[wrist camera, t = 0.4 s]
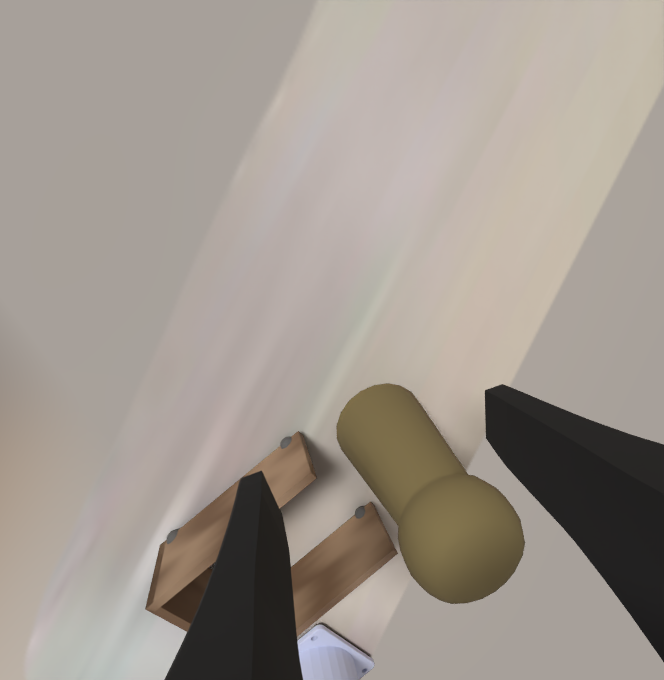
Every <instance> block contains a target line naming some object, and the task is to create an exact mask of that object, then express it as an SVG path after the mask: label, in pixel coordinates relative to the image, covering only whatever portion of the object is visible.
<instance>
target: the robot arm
mask: <svg viewBox="0 0 664 680" xmlns="http://www.w3.org/2000/svg"><path fill="white" fill-rule="evenodd" d="M485 415H486V439H487V440H488V442H489V443H490V444H491V446H492V447H493V449H494V450H495V452H496V453H497V454H498V456H499V457H500V458H501V460H502V461H503V462H504V464H505V465H506V466H507V468H508V469H509V470H510V471H511V472H512V473H513V474H514V475H515V476H516V477H517V479H518V480H519V481H520V482H521V483H522V484H523V485H524V486H525V487H526V488H527V490H528V491H529V492H530V493H531V494H532V495H533V496H534V497H535V498H536V499H537V500H538V501H539V502H540V504H541V505H542V506H543V507H544V508H545V509H546V510H547V511H548V512H549V513H550V514H551V515H552V516H553V517H554V519H555V520H556V521H557V522H558V523H559V524H560V525H561V526H562V527H563V528H564V530H565V531H566V532H567V533H568V534H569V535H570V536H571V538H572V539H573V540H574V541H575V542H576V544H577V545H578V546H579V547H580V549H581V550H582V551H583V553H584V554H585V555H586V556H587V558H588V559H589V560H590V562H591V563H592V564H593V565H594V566H595V568H596V569H597V571H598V572H599V573H600V574H601V576H602V577H603V578H604V579H605V581H606V582H607V584H608V585H609V586H610V588H611V589H612V590H613V592H614V593H615V595H616V596H617V597H618V598H619V600H620V601H621V603H622V604H623V605H624V607H625V608H626V609H627V611H628V612H629V613H630V615H631V616H632V618H633V619H634V620H635V622H636V623H637V625H638V626H639V628H640V629H641V630H642V632H643V633H644V635H645V636H646V637H647V639H648V640H649V642H650V643H651V645H652V646H653V647H654V649H655V650H656V651H657V653H658V654H659V656H660V657H661V659H662V660H663V662H664V445H663V444H660V443H657V442H653V441H650V440H646V439H643V438H640V437H637V436H634V435H630V434H628V433H625V432H622V431H619V430H616V429H614V428H610V427H608V426H605V425H602V424H599V423H597V422H594V421H591V420H589V419H586V418H583V417H581V416H578V415H576V414H573V413H571V412H568V411H566V410H564V409H561V408H559V407H556V406H554V405H551V404H549V403H546V402H544V401H542V400H539V399H537V398H535V397H532V396H530V395H528V394H525V393H523V392H520V391H518V390H516V389H513V388H511V387H508V386H506V385H503V384H502V385H499V386H496V387H493V388H491V389H488V390H485ZM373 667H374V661H373V659H372V658H371V657H369V656H368V655H366V654H365V653H363V652H362V651H360V650H359V649H357V648H356V647H354V646H353V645H351V644H350V643H349V642H347V641H346V640H344V639H343V638H341V637H340V636H338V635H337V634H335V633H334V632H332V631H331V630H329V629H328V628H326V627H325V626H324V625H321V624H320V625H316V626H315V627H313V628H312V629H311V630H310V631H309V632H307V633H306V634H305V635H304V636H302V637H301V638H300V639H299V640H298V641H297V632H296V621H295V610H294V599H293V587H292V576H291V565H290V555H289V547H288V542H287V537H286V532H285V527H284V522H283V517H282V513H281V511H280V509H279V507H278V505H277V502H276V500H275V498H274V496H273V494H272V492H271V489H270V487H269V485H268V483H267V481H266V478H265V476H264V474H263V472H262V471H259V472H256V473H253V474H251V475H248V476H245V477H242V478H241V480H240V481H239V484H238V489H237V493H236V497H235V501H234V505H233V508H232V512H231V515H230V519H229V522H228V526H227V529H226V532H225V535H224V538H223V541H222V544H221V547H220V551H219V554H218V557H217V559H216V562H215V565H214V568H213V570H212V573H211V576H210V578H209V581H208V584H207V586H206V589H205V592H204V594H203V597H202V599H201V601H200V604H199V606H198V609H197V611H196V613H195V616H194V618H193V620H192V623H191V625H190V627H189V629H188V632H187V634H186V636H185V638H184V641H183V643H182V645H181V647H180V649H179V651H178V653H177V655H176V657H175V659H174V661H173V663H172V665H171V668H170V670H169V672H168V674H167V676H166V678H165V680H359V679H360V678H362V677H363V676H364V675H365V674H366V673H368V672H369V671H370V670H371V669H372V668H373Z"/></svg>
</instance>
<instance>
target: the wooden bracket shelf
mask: <svg viewBox="0 0 664 680" xmlns="http://www.w3.org/2000/svg"><path fill="white" fill-rule="evenodd" d="M259 471H262V472H263V474H264V476H265V478H266V481H267V483H268V485H269V487H270V489H271V492H272V494H273V496H274V498H275V500H276V502H277V505H278V507H279V509H280V508H281V507H282V506H284V505H285V504H286V503H287V502H288V501H290V500H291V499H292V498H293V497H294V496H296V495H297V494H298V493H299V492H300V491H302V490H303V489H304V488H305V487H307V486H308V485H309V484H310V483H311V482H313V481H314V480H315V479H316V478H317V477H316V474H315V471H314V468H313V464H312V461H311V458H310V455H309V452H308V449H307V446H306V443H305V439H304V436H303V435H302V434H301V433H300V432H299V431H298V432H297V433H295V434H294V435H293V436H292V437H286V438H284V439H283V440H282V441H281V445H280V447H278V448H277V449H276V450H275V451H273V452H272V453H271V454H270V455H269V456H267V457H266V458H265V459H264V460H263V461H261V462H260V463H259V464H258V465H257V466H255V467H254V468H253V469H252V470H250V471H249V472H248V473H247V474H246V475H244V476H243V477H245V476H248V475H251V474H253V473H256V472H259ZM240 480H241V479H240ZM240 480H238V481H237V482H236V483H235V484H234V485H232V486H231V487H230V488H229V489H227V490H226V491H225V492H224V493H223V494H221V495H220V496H219V497H218V498H217V499H215V500H214V501H213V502H212V503H211V504H209V505H208V506H207V507H206V508H204V509H203V510H202V511H201V512H200V513H198V514H197V515H196V516H195V517H194V518H192V519H191V520H190V521H189V522H188V523H186V524H185V525H184V526H183V527H181V528H180V529H179V530H173V531H171V532H170V533H169V534H168V536H167V540H166V541H165V542H163V543H162V544H161V545H160V548H159V552H158V557H157V561H156V565H155V570H154V574H153V578H152V582H151V587H150V591H149V595H148V600H147V604H146V608H145V609H146V610H148V611H150V612H151V613H153V614H155V615H157V616H159V617H161V618H163V619H164V620H166V621H168V622H170V623H172V624H174V625H176V626H178V627H179V628H181V629H183V630H185V631H187V632H188V629H189V627H190V625H191V623H192V620H193V618H194V616H195V613H196V611H197V609H198V606H199V604H200V601H201V599H202V597H203V594H204V592H205V589H206V586H207V584H208V581H209V578H210V576H211V573H212V569H210V568H209V567H210V566H211V565H212V564H213V563H214V562H216V559H217V557H218V554H219V551H220V547H221V544H222V541H223V538H224V535H225V532H226V529H227V526H228V522H229V519H230V515H231V512H232V508H233V505H234V501H235V497H236V493H237V489H238V484H239V481H240ZM397 554H398V553H397V551H396V549H395V547H394V545H393V543H392V541H391V539H390V537H389V535H388V533H387V530H386V528H385V526H384V524H383V522H382V520H381V518H380V516H379V514H378V512H377V510H376V508H375V506H374V505H373V504H372V503H371V502H370V503H369V504H367V505H366V506H365V507H359V508H357V509H356V511H355V515H354V516H353V517H352V518H350V519H349V520H348V521H347V522H345V523H344V524H343V525H342V526H341V527H339V528H338V529H337V530H336V531H335V532H333V533H332V534H331V535H330V536H329V537H327V538H326V539H325V540H324V541H322V542H321V543H320V544H319V545H318V546H316V547H315V548H314V549H313V550H312V551H310V552H309V553H308V554H307V555H305V556H304V557H303V558H302V559H301V560H299V561H298V562H297V563H296V564H295V565H293V566H292V567H291V576H292V587H293V599H294V610H295V621H296V632H297V636H298V635H300V634H301V633H302V632H303V631H304V630H306V629H307V628H308V627H309V626H310V625H312V624H313V623H314V622H315V621H317V620H318V619H319V618H320V617H321V616H323V615H324V614H325V613H326V612H327V611H329V610H330V609H331V608H332V607H333V606H335V605H336V604H337V603H338V602H340V601H341V600H342V599H343V598H344V597H346V596H347V595H348V594H349V593H350V592H352V591H353V590H354V589H355V588H357V587H358V586H359V585H360V584H361V583H363V582H364V581H365V580H366V579H367V578H369V577H370V576H371V575H372V574H373V573H375V572H376V571H377V570H378V569H380V568H381V567H382V566H383V565H384V564H386V563H387V562H388V561H389V560H390V559H392V558H393V557H394V556H395V555H397Z"/></svg>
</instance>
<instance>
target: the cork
mask: <svg viewBox="0 0 664 680" xmlns="http://www.w3.org/2000/svg"><path fill="white" fill-rule="evenodd" d="M337 440H338V442H339V445H340V447H341V450H342V451H343V452H344V454H345V455H346V456H347V458H348V459H349V460H350V462H351V463H352V464H353V466H354V467H355V468H356V470H357V471H358V472H359V474H360V475H361V476H362V478H363V479H364V480H365V482H366V483H367V484H368V486H369V487H370V489H371V490H372V491H373V493H374V494H375V495H376V497H377V498H378V499H379V501H380V502H381V503H382V505H383V506H384V507H385V509H386V510H387V511H388V513H389V514H390V515H391V517H392V518H393V519H394V521H395V522H396V523H397V525H398V526H399V528H398V541H399V545H400V550H401V553H402V556H403V558H404V561H405V563H406V565H407V568H408V570H409V572H410V574H411V576H412V577H413V578H414V579H415V580H416V582H417V583H418V584H419V585H420V586H421V587H422V588H423V589H424V590H425V591H426V592H428V593H429V594H430V595H432V596H434V597H435V598H437V599H439V600H441V601H444V602H447V603H451V604H454V603H455V604H458V603H468V602H473V601H476V600H479V599H483V598H484V597H486V596H488V595H490V594H492V593H494V592H495V591H496V590H498V589H499V588H500V587H501V586H502V585H504V584H505V583H506V582H507V580H508V579H509V578H510V577H511V576H512V574H513V573H514V572H515V570H516V568H517V566H518V564H519V562H520V560H521V558H522V556H523V550H524V545H525V541H524V536H523V531H522V526H521V521H520V518H519V516H518V515H517V513H516V511H515V510H514V508H513V507H512V505H511V504H510V503H509V501H508V500H507V499H506V497H505V496H504V495H503V494H502V493H501V492H500V491H499V490H498V489H496V488H495V487H494V486H492V485H490V484H488V483H487V482H485V481H483V480H481V479H479V478H478V477H476V476H473V475H468V474H467V472H466V471H465V469H464V468H463V466H462V465H461V463H460V462H459V460H458V459H457V457H456V456H455V454H454V453H453V452H452V450H451V449H450V447H449V446H448V444H447V443H446V441H445V440H444V438H443V437H442V435H441V434H440V432H439V431H438V430H437V428H436V427H435V425H434V424H433V422H432V421H431V419H430V418H429V416H428V415H427V413H426V412H425V410H424V409H423V407H422V406H421V405H420V403H419V402H418V400H417V399H416V398H415V396H414V395H413V394H412V393H411V392H410V391H409V390H407V389H405V388H403V387H402V386H399V385H393V384H381V385H374V386H372V387H369V388H367V389H365V390H363V391H360V392H359V393H358V394H357V395H356V396H354V397H353V398H352V399H351V400H350V401H349V402H348V403H347V405H346V406H345V408H344V409H343V411H342V412H341V414H340V417H339V420H338V423H337Z"/></svg>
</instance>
